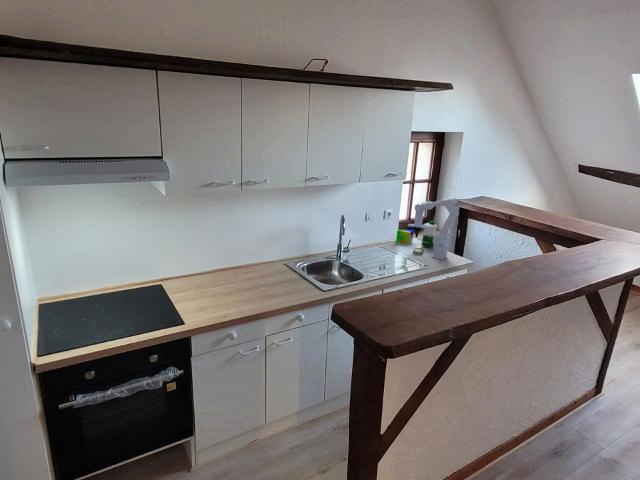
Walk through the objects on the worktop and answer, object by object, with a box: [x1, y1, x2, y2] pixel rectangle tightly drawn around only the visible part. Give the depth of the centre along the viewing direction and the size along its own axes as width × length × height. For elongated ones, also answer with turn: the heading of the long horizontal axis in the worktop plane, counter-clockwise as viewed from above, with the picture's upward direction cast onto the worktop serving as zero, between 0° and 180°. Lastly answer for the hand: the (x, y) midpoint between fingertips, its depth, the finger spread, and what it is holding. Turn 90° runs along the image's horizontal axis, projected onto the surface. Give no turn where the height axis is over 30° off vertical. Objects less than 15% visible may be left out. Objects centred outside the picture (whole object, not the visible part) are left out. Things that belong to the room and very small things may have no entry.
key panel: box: [412, 244, 425, 256], centre depth 310 cm, size 17×6×2 cm, turn 161°
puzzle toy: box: [395, 227, 415, 245], centre depth 330 cm, size 10×10×10 cm
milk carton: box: [421, 220, 438, 249], centre depth 320 cm, size 9×9×20 cm
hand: (416, 237), depth 309 cm, fingers closed
